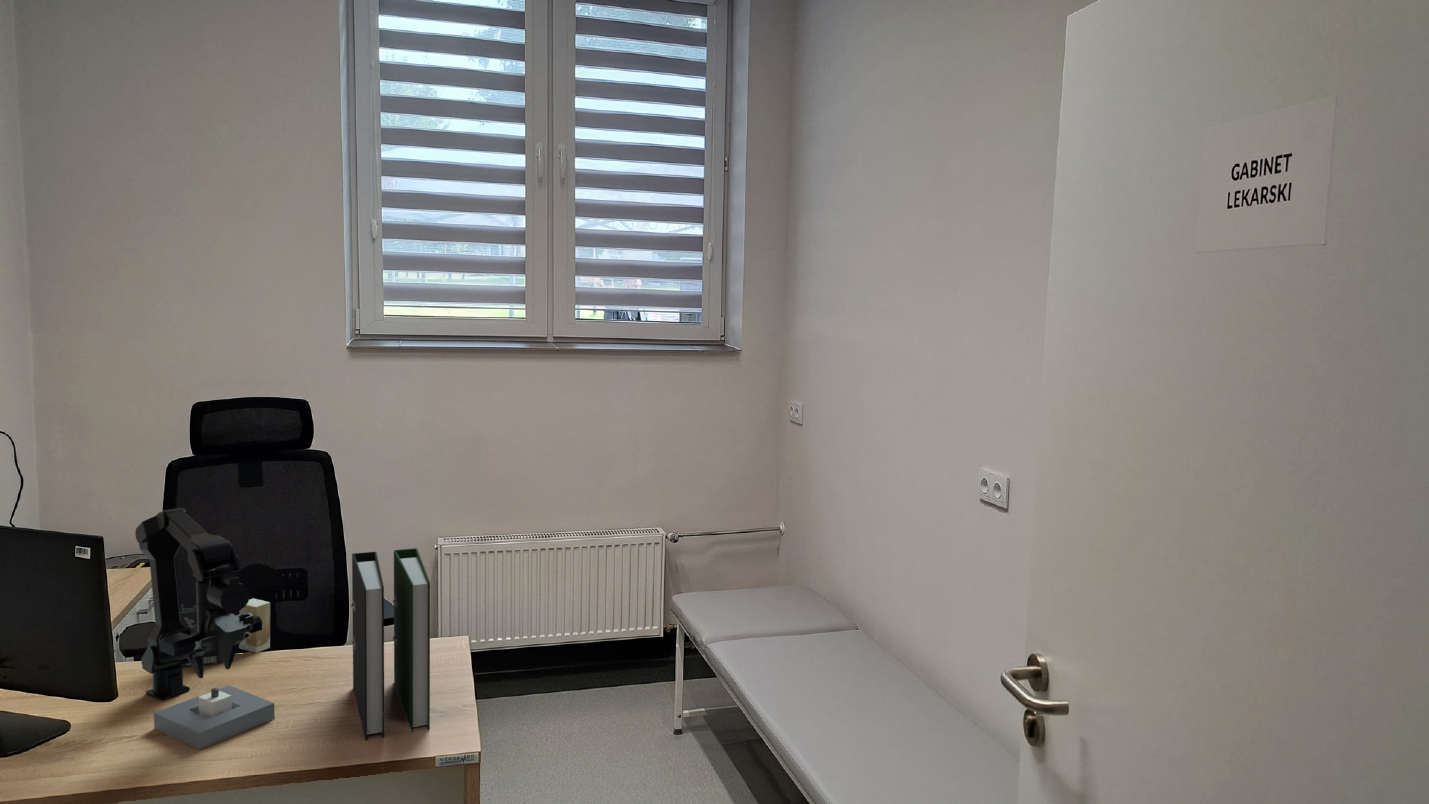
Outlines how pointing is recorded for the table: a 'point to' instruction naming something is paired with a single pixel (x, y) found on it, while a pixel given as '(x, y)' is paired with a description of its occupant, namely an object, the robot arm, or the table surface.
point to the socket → (213, 719)
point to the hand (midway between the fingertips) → (214, 673)
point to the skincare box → (260, 638)
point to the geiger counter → (212, 646)
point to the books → (406, 637)
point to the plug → (214, 703)
